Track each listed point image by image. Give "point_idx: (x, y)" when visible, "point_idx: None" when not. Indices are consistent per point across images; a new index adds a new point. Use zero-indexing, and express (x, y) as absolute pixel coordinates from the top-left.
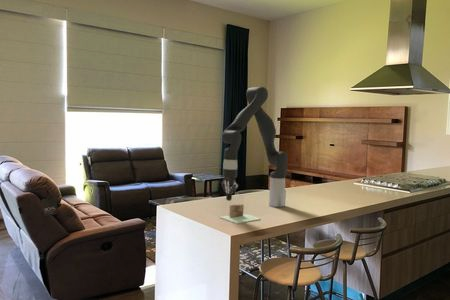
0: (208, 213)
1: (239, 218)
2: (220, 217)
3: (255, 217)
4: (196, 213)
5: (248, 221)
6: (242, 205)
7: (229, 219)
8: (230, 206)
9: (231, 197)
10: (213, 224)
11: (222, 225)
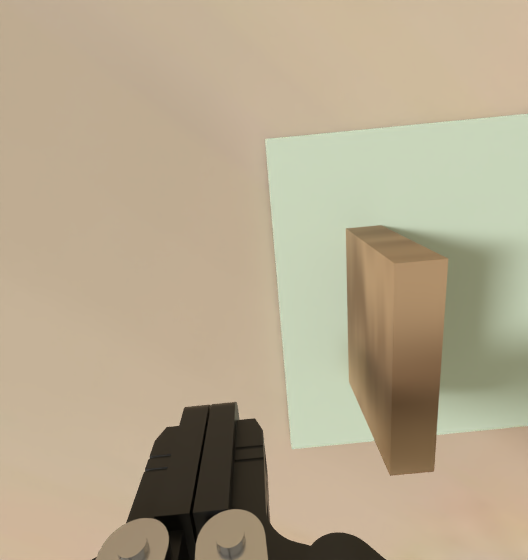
0: (84, 441)
1: (446, 325)
2: (305, 445)
3: (522, 134)
4: (53, 522)
5: None
6: (441, 279)
7: None
8: (401, 466)
9: (263, 452)
10: (424, 548)
11: (484, 512)
